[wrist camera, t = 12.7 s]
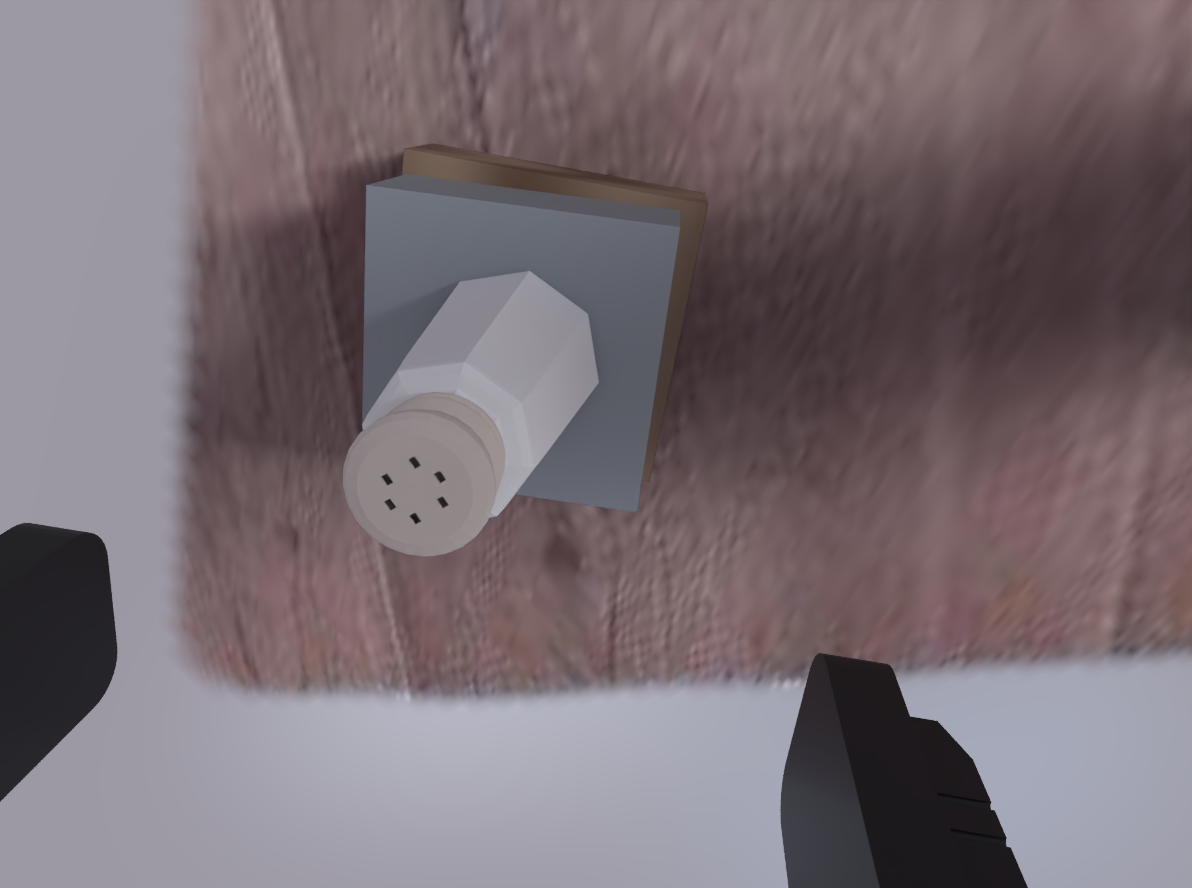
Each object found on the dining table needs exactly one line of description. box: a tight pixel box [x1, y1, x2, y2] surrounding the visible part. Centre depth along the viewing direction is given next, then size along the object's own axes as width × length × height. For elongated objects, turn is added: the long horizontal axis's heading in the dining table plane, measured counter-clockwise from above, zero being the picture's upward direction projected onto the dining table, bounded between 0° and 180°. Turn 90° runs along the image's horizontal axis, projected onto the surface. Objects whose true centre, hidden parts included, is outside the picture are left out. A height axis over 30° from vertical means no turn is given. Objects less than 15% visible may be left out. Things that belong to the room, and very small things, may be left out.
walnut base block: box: [402, 144, 708, 482], centre depth 32 cm, size 10×10×4 cm
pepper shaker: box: [343, 271, 599, 557], centre depth 21 cm, size 5×5×11 cm
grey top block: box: [362, 174, 680, 512], centre depth 28 cm, size 9×9×4 cm
